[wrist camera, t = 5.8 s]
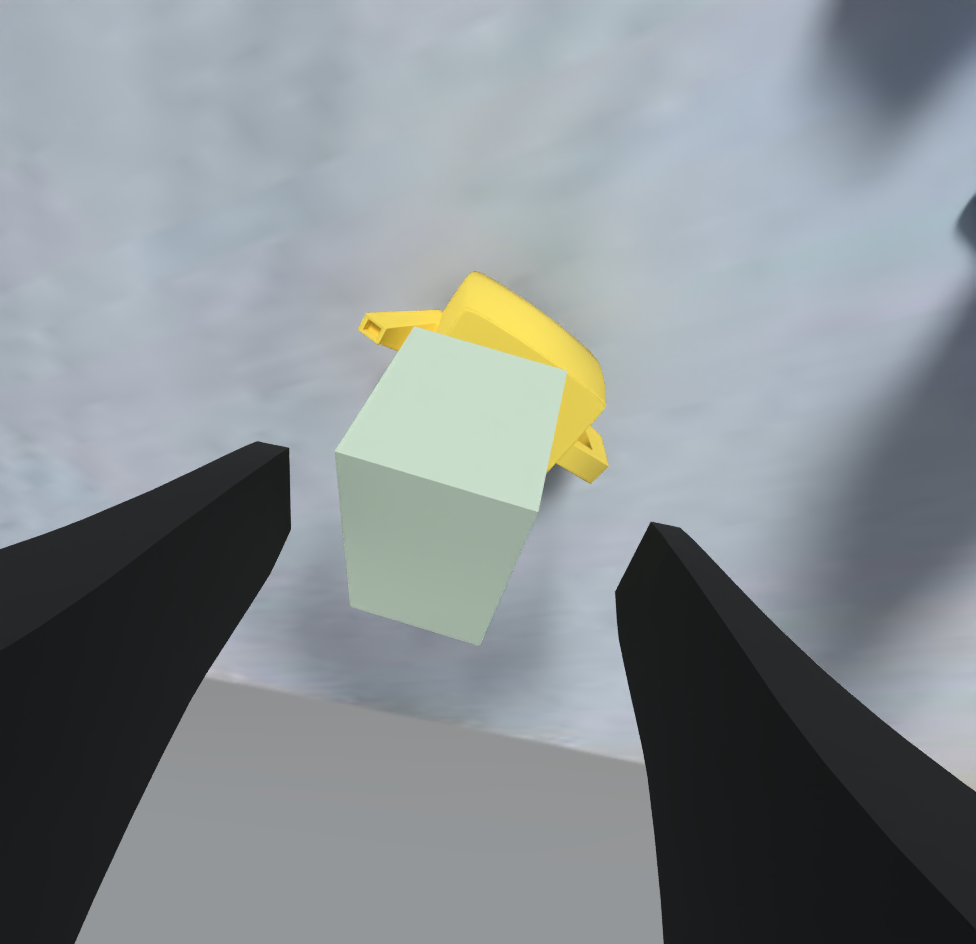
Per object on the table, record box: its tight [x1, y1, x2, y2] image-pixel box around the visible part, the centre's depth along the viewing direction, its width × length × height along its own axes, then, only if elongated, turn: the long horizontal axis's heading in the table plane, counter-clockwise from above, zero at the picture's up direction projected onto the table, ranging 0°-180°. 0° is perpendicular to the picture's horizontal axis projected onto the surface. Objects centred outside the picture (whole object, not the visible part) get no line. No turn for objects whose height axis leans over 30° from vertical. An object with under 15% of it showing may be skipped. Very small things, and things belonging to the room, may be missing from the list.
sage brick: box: [335, 326, 567, 646], centre depth 12 cm, size 6×4×4 cm, turn 169°
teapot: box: [358, 271, 609, 484], centre depth 15 cm, size 8×6×5 cm
